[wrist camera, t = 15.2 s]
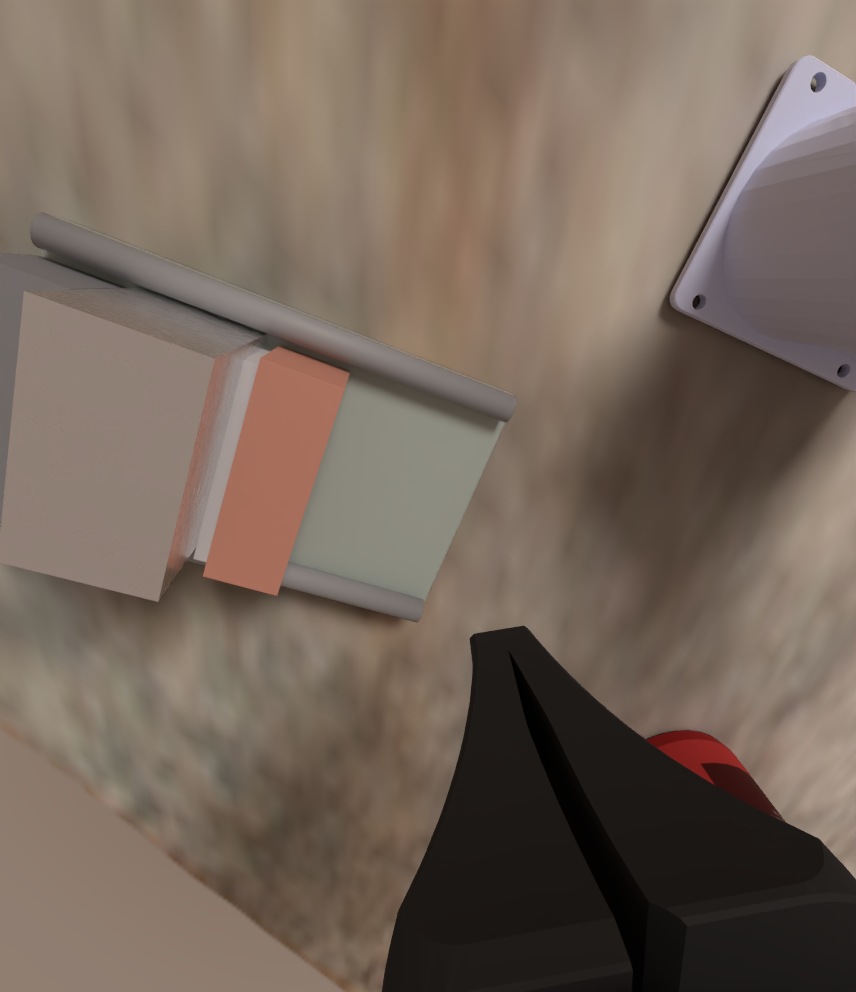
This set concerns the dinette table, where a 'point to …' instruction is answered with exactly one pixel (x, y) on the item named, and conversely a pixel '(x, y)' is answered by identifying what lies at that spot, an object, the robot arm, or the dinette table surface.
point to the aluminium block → (116, 434)
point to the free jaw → (268, 466)
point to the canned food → (714, 765)
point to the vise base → (355, 433)
